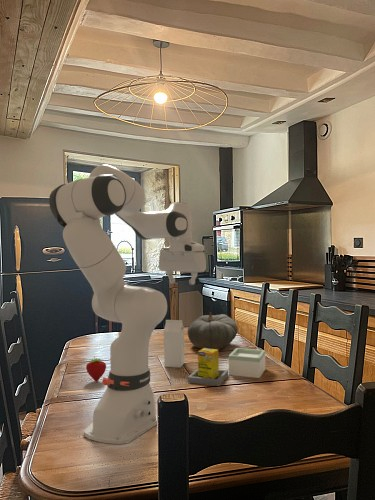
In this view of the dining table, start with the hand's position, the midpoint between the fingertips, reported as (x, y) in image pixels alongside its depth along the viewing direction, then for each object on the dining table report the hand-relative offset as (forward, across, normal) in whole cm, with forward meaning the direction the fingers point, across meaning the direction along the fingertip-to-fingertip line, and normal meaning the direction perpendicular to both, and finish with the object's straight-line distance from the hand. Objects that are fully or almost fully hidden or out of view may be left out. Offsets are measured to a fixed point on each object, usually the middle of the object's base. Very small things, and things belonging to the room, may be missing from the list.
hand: (182, 283), depth 149 cm
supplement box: (+37, +6, +6) cm, 38 cm away
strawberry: (+36, -26, -20) cm, 49 cm away
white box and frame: (+37, +10, +14) cm, 41 cm away
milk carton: (+37, -15, +12) cm, 42 cm away
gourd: (+38, -19, +46) cm, 63 cm away
